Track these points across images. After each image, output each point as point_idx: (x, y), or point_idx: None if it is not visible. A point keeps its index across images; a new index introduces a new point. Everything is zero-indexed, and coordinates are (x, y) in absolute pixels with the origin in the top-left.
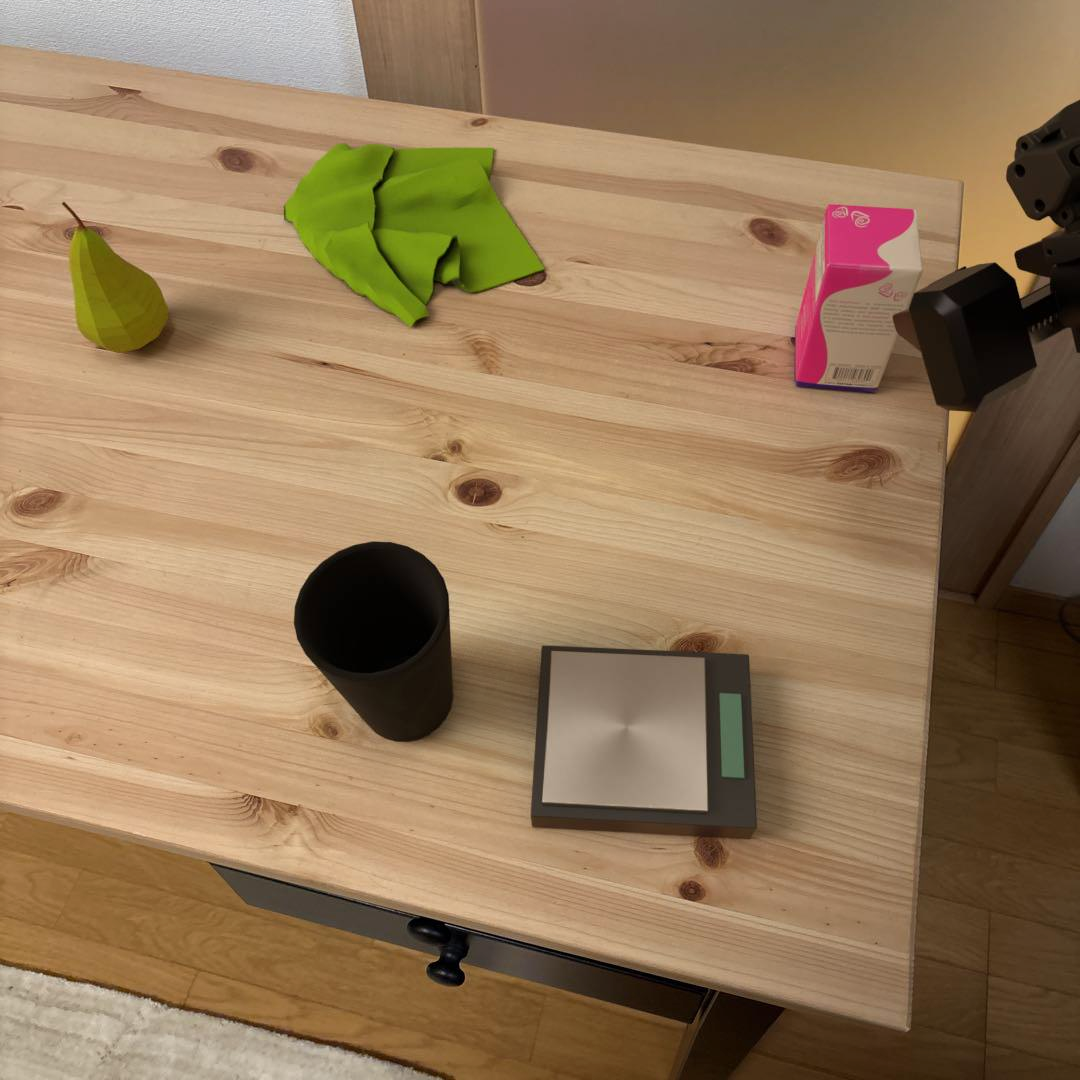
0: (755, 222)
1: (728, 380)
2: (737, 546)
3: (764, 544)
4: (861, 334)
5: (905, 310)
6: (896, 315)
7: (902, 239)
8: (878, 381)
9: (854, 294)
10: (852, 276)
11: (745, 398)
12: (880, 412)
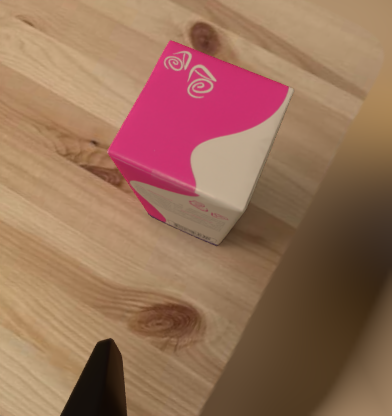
0: (198, 25)
1: (92, 188)
2: (11, 375)
3: (36, 381)
4: (186, 218)
5: (93, 376)
6: (88, 361)
7: (243, 140)
8: (217, 243)
9: (160, 192)
10: (146, 177)
11: (98, 212)
12: (212, 267)
